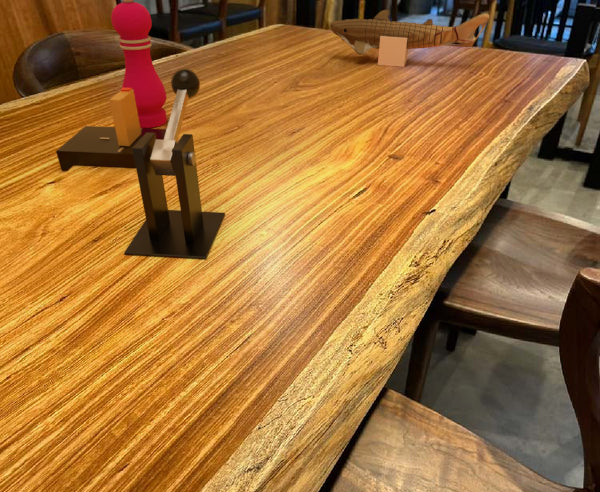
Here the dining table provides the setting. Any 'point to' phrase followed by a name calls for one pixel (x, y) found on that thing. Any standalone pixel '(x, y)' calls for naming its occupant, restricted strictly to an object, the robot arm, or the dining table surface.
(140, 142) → the bracket
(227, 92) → the dining table surface
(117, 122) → the block
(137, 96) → the pepper mill
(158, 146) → the latch lever
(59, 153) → the plate
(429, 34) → the wood carving
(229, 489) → the dining table surface
